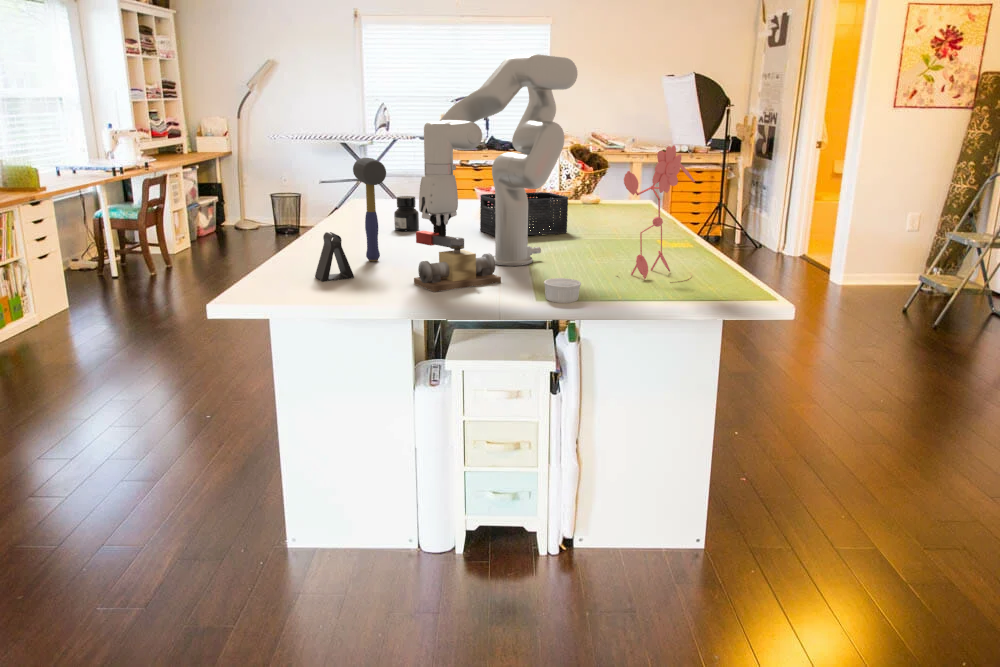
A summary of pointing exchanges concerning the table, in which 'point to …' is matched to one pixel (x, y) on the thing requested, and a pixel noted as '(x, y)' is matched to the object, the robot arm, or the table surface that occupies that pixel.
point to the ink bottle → (406, 214)
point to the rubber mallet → (370, 200)
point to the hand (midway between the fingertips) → (439, 239)
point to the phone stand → (326, 260)
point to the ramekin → (562, 290)
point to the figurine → (665, 177)
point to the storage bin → (531, 213)
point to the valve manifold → (457, 271)
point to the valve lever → (439, 240)
